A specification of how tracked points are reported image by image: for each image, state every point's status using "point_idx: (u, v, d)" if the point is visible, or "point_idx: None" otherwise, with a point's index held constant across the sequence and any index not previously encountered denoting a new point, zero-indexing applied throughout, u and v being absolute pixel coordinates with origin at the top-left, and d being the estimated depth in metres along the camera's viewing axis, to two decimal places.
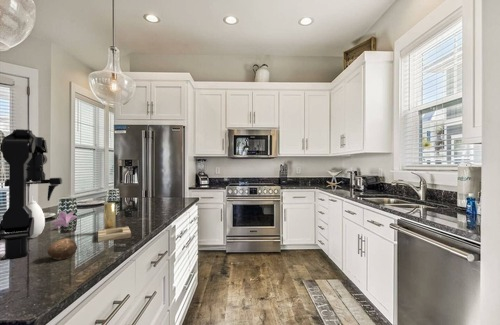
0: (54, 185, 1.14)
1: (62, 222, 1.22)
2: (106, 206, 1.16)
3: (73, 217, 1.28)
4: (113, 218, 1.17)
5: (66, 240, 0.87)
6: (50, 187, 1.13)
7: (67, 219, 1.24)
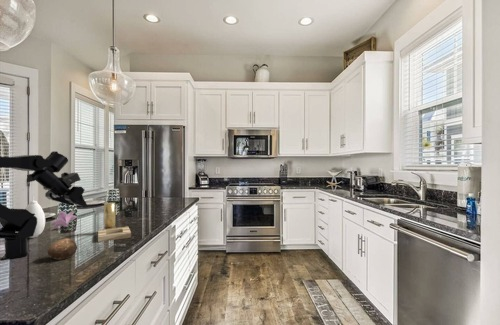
0: (71, 202, 1.00)
1: (62, 222, 1.22)
2: (106, 206, 1.16)
3: (73, 217, 1.28)
4: (113, 218, 1.17)
5: (66, 240, 0.87)
6: (71, 202, 1.02)
7: (67, 219, 1.24)
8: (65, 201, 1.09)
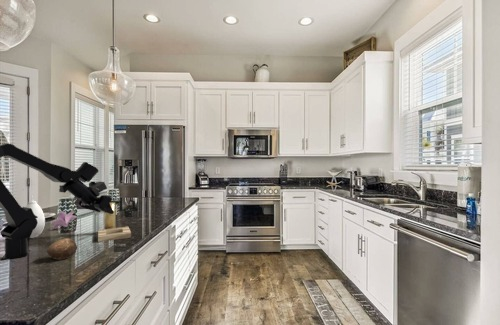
0: (100, 210, 1.07)
1: (61, 222, 1.22)
2: None
3: (72, 217, 1.28)
4: (113, 218, 1.17)
5: (66, 240, 0.87)
6: (100, 210, 1.08)
7: (66, 219, 1.24)
8: (93, 208, 1.16)
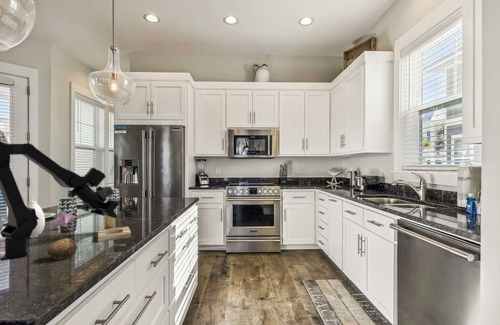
0: (104, 214, 1.10)
1: (61, 222, 1.22)
2: None
3: (72, 217, 1.28)
4: (113, 218, 1.17)
5: (66, 240, 0.87)
6: (104, 214, 1.12)
7: (66, 219, 1.24)
8: (102, 213, 1.17)
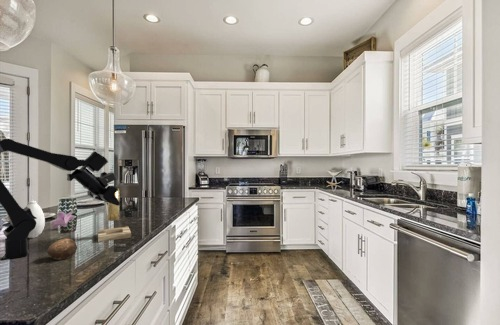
0: (104, 200, 1.05)
1: (61, 222, 1.22)
2: None
3: (72, 217, 1.28)
4: (116, 205, 1.11)
5: (66, 240, 0.87)
6: (104, 201, 1.06)
7: (66, 219, 1.23)
8: None
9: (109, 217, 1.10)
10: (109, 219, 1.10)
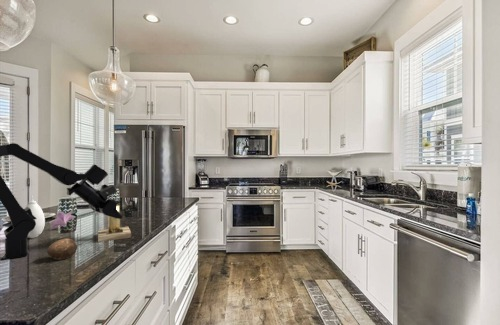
0: (105, 214, 1.02)
1: (60, 222, 1.22)
2: None
3: (71, 217, 1.28)
4: (116, 222, 1.10)
5: (66, 240, 0.87)
6: None
7: (65, 219, 1.23)
8: None
9: None
10: None
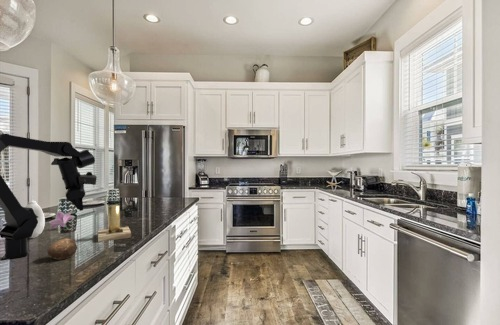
0: None
1: (59, 222, 1.22)
2: (109, 209, 1.09)
3: (70, 217, 1.28)
4: (116, 222, 1.10)
5: (66, 240, 0.87)
6: None
7: (64, 219, 1.23)
8: None
9: None
10: None
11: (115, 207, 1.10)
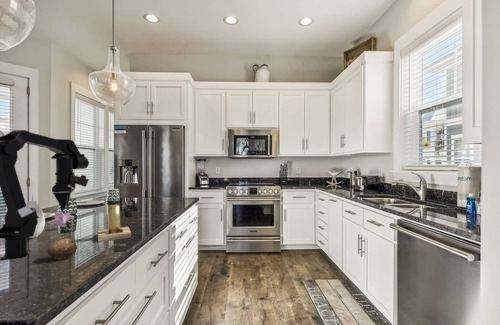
0: None
1: (59, 222, 1.22)
2: (109, 209, 1.09)
3: (70, 217, 1.28)
4: (116, 222, 1.10)
5: (66, 240, 0.87)
6: (54, 194, 1.02)
7: (64, 219, 1.23)
8: None
9: None
10: None
11: (115, 207, 1.10)
